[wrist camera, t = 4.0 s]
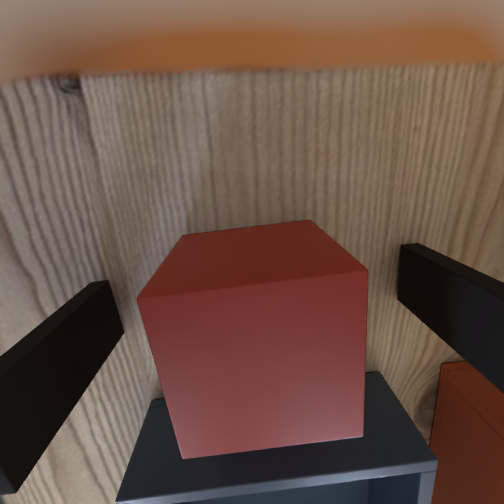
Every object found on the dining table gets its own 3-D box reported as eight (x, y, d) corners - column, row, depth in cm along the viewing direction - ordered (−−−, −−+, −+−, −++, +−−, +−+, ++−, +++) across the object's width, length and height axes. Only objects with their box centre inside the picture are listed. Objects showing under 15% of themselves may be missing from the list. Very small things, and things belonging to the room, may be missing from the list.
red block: (181, 234, 11) (135, 298, 6) (310, 219, 12) (369, 269, 6) (204, 342, 13) (182, 459, 8) (315, 328, 13) (364, 437, 8)
